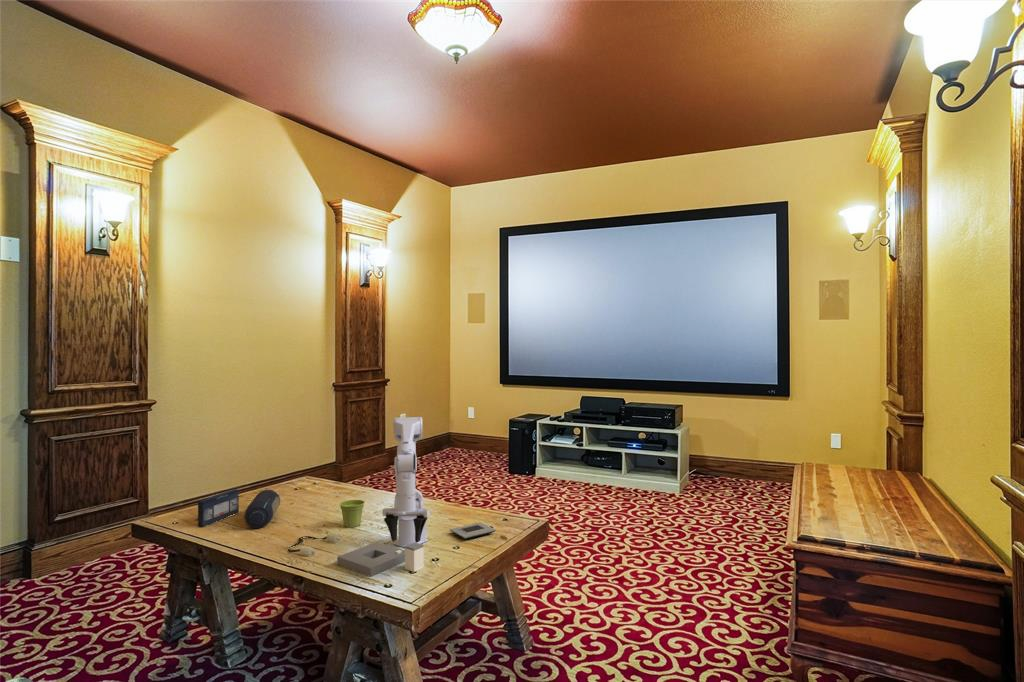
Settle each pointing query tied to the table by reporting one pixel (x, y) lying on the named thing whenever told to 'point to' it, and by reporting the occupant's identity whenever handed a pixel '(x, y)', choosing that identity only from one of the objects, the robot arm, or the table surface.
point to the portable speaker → (262, 509)
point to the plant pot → (352, 512)
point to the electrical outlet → (472, 530)
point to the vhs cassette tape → (218, 507)
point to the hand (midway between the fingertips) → (406, 540)
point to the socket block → (369, 566)
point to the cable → (310, 550)
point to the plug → (414, 556)
